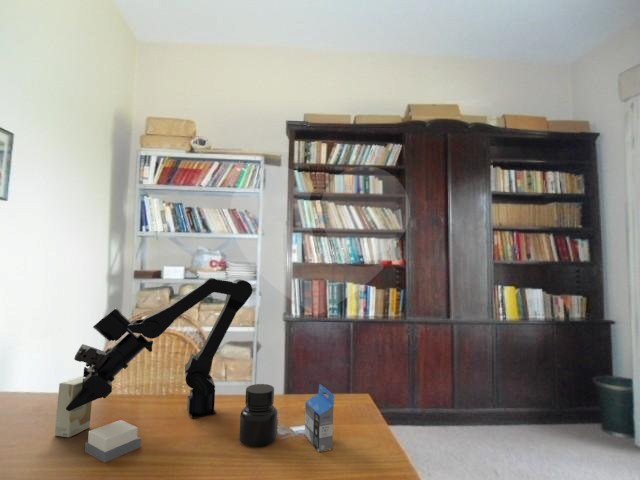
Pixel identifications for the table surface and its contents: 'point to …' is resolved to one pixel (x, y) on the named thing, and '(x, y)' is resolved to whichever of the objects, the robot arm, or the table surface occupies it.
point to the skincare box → (76, 418)
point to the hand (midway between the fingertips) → (68, 404)
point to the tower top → (112, 435)
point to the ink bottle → (258, 417)
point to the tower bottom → (114, 452)
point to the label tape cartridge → (320, 419)
